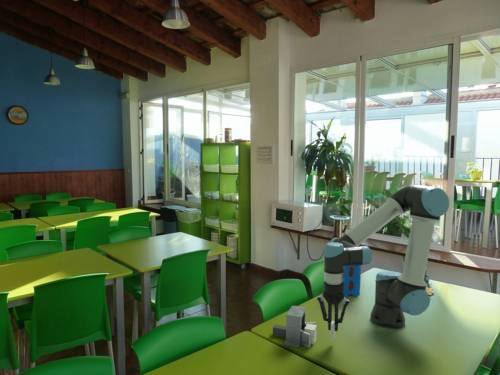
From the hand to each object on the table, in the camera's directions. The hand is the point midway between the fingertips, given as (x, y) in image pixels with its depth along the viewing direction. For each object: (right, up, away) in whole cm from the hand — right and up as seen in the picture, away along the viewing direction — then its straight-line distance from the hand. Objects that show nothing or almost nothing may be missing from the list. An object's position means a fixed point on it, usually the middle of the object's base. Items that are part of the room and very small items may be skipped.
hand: (333, 337), depth 151 cm
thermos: (+22, +2, +57) cm, 61 cm away
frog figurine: (+65, +2, +58) cm, 87 cm away
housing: (-12, -2, +5) cm, 14 cm away
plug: (-15, -2, +6) cm, 16 cm away
